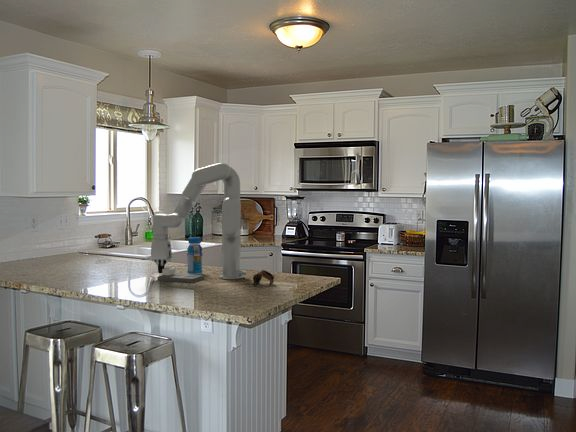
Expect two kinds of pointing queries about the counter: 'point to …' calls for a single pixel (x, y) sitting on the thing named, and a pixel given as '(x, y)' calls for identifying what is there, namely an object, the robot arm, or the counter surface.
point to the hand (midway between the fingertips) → (161, 272)
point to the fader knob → (168, 271)
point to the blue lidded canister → (194, 256)
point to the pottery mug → (265, 274)
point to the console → (181, 278)
